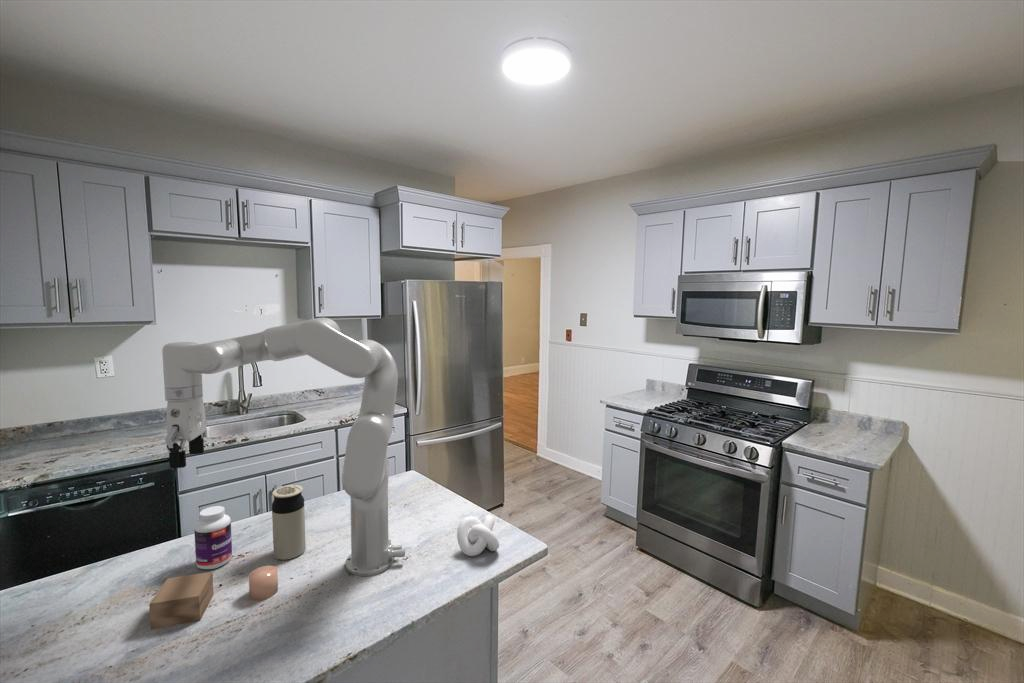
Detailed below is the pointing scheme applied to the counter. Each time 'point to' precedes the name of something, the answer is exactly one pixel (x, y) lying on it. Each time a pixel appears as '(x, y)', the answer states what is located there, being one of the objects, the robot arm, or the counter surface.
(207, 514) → the pill bottle
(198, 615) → the walnut box
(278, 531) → the travel mug
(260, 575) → the peach rounded cylinder
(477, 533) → the white knot sculpture
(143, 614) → the counter surface
